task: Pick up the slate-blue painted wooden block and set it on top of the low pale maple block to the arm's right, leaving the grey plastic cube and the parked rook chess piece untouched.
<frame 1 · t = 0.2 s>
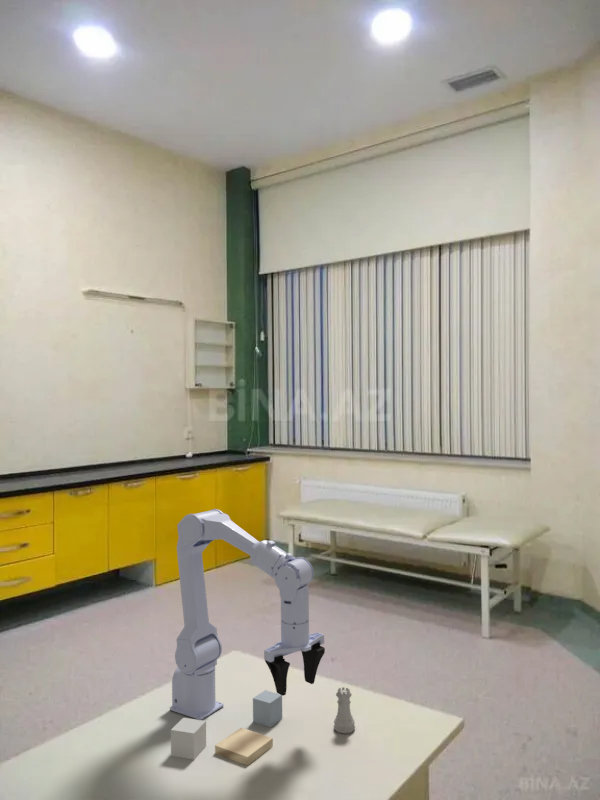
hand: (295, 687, 122), 10 cm above the table, fingers open, 7 cm apart
grey cube: (188, 751, 118), on the table
slate block: (267, 720, 130), on the table
rook chess piece: (344, 730, 125), on the table
maple block: (244, 752, 118), on the table
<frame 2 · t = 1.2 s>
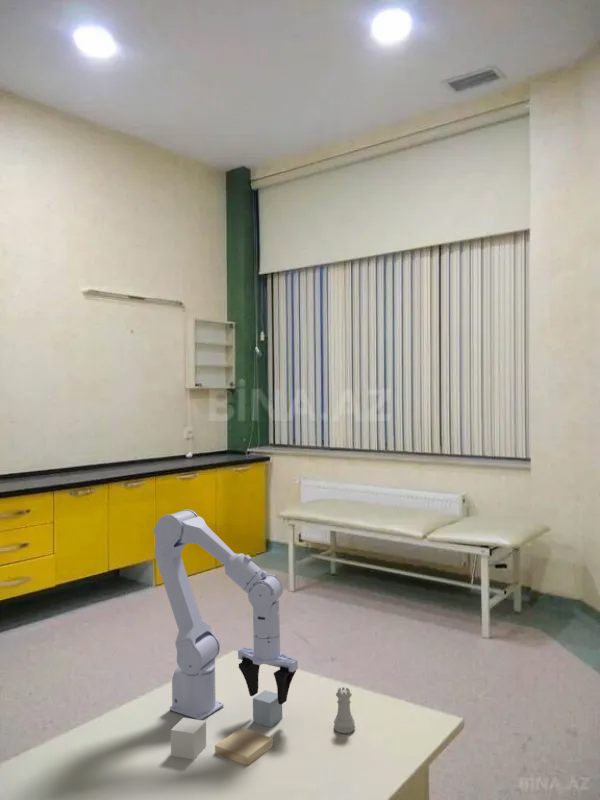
hand: (267, 698, 130), 5 cm above the table, fingers open, 7 cm apart
nothing on the table moved.
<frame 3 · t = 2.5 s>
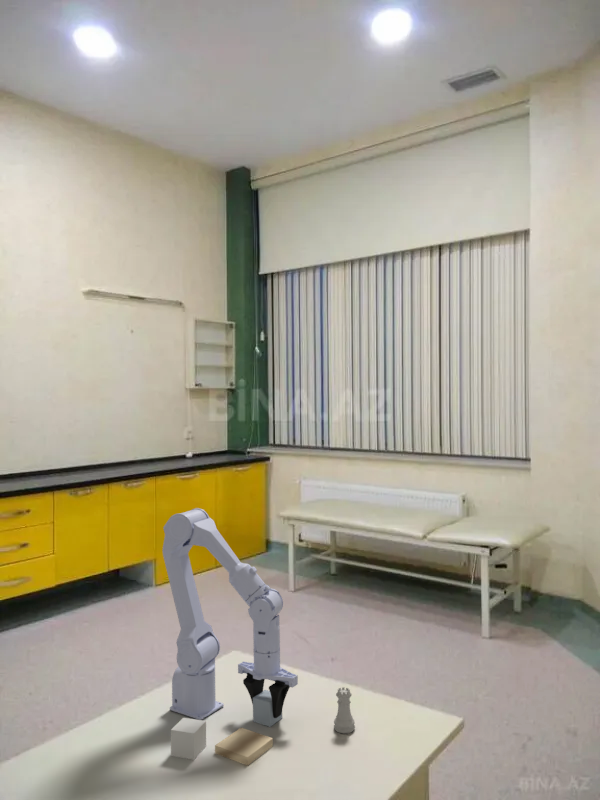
hand: (267, 713, 130), 1 cm above the table, fingers closed on slate block, 4 cm apart
slate block: (267, 719, 130), on the table, touching gripper
everything else where it was.
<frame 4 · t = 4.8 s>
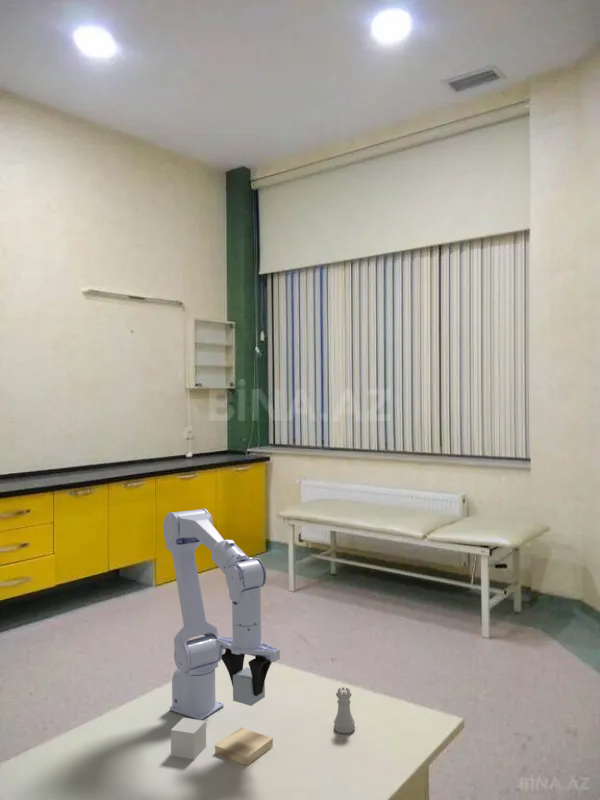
hand: (247, 691, 120), 10 cm above the table, fingers closed on slate block, 4 cm apart
slate block: (249, 698, 120), point 9 cm above the table, touching gripper
everything else where it was.
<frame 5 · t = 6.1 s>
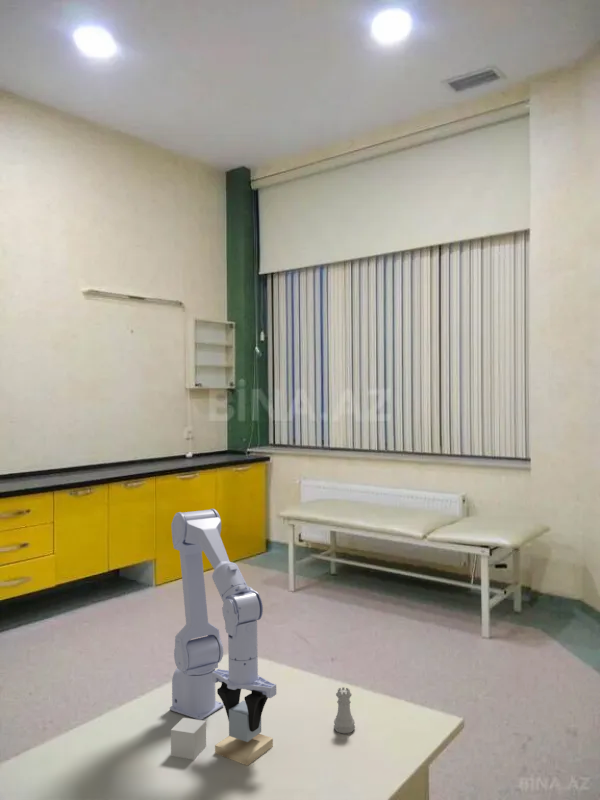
hand: (243, 725, 118), 5 cm above the table, fingers closed on slate block, 4 cm apart
slate block: (245, 733, 118), point 3 cm above the table, touching gripper
everything else where it was.
when the fingers open (4 cm above the table, at t = 7.0 s): slate block drops 1 cm, resting on maple block.
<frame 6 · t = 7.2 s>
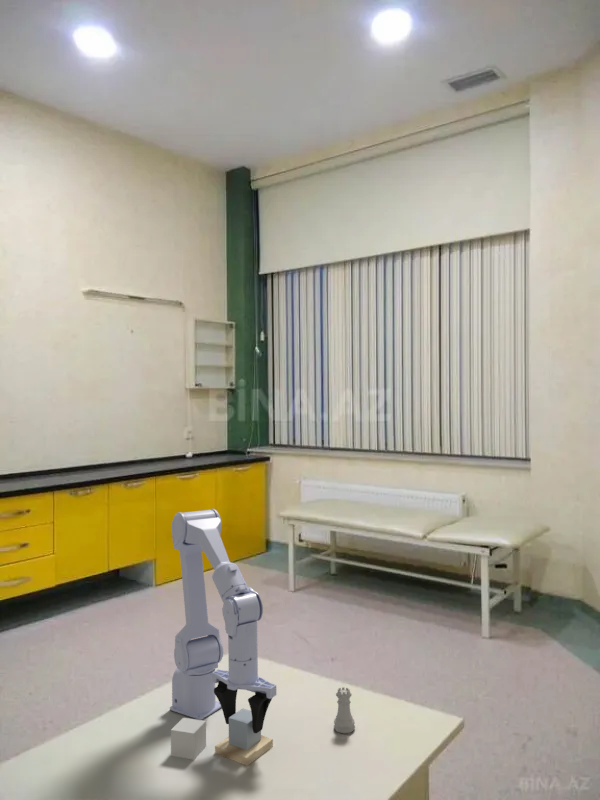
hand: (243, 726, 118), 4 cm above the table, fingers open, 6 cm apart
slate block: (244, 741, 118), point 1 cm above the table, touching maple block
maple block: (244, 753, 118), on the table, touching slate block
everything else where it was.
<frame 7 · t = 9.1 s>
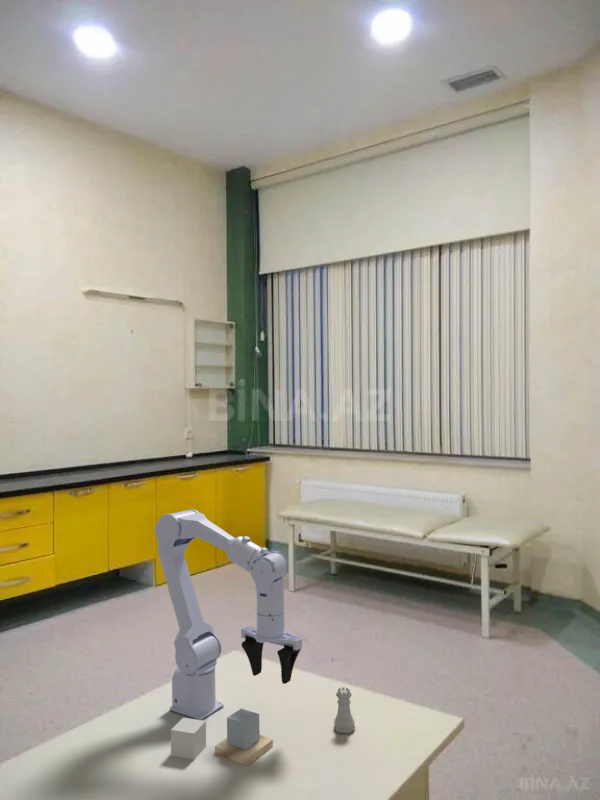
hand: (271, 677, 126), 10 cm above the table, fingers open, 7 cm apart
nothing on the table moved.
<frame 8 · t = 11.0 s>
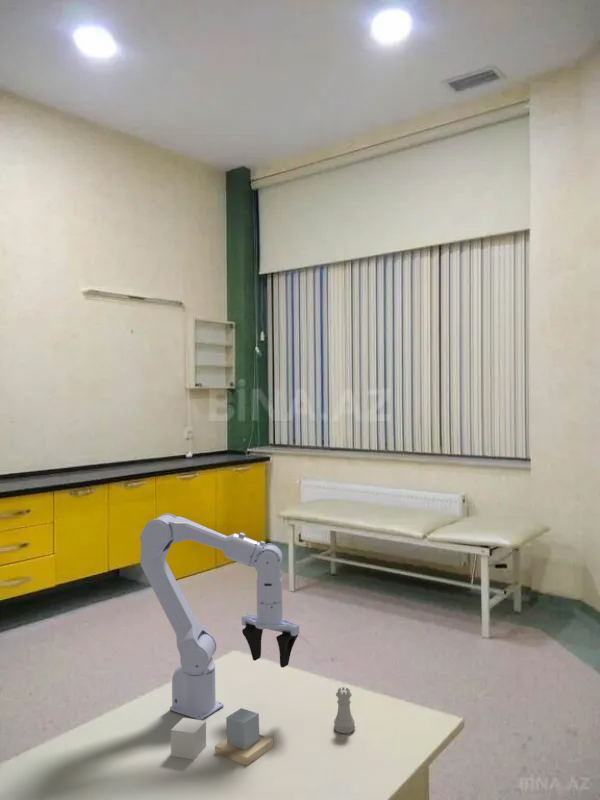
hand: (270, 662, 135), 10 cm above the table, fingers open, 7 cm apart
slate block: (243, 741, 118), point 1 cm above the table
maple block: (244, 752, 118), on the table
everything else where it was.
at the end: slate block 0.3 cm off-centre on the maple block, point 2.1 cm above the maple block's base; slate block tilted 1°; grey cube moved 0.1 cm from its start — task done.
